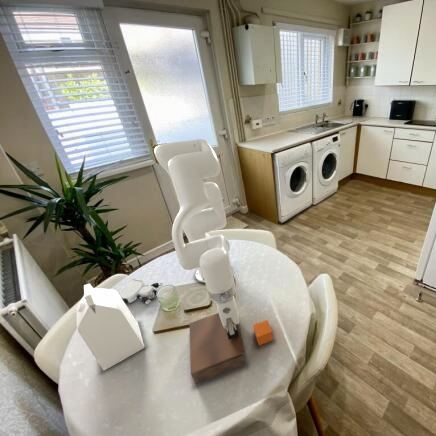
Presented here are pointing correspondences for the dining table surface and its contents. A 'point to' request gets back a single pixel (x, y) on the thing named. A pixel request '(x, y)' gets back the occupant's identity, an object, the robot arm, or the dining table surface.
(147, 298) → the robot toy
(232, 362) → the chest
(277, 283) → the dining table surface
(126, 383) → the dining table surface
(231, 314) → the robot arm
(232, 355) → the chest lid
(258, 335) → the orange cube
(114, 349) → the milk
